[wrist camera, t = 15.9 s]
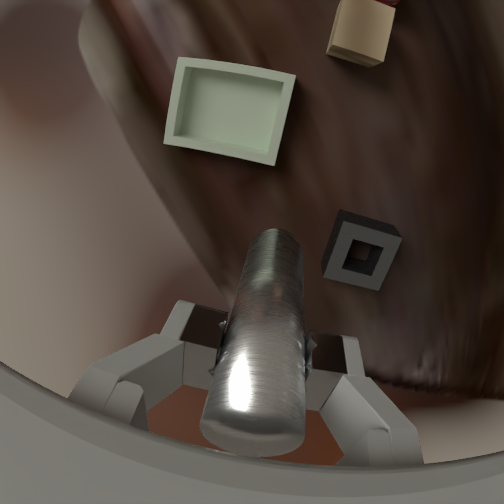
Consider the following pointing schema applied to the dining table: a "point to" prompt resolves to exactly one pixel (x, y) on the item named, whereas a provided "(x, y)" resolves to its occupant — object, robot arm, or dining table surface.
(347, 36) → the block
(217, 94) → the tray
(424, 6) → the dining table surface
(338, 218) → the socket block
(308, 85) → the dining table surface
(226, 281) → the dining table surface
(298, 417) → the pin
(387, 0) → the toy fire truck
